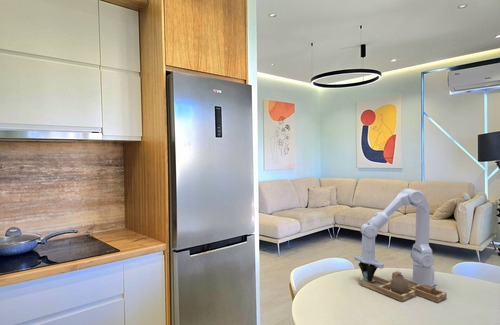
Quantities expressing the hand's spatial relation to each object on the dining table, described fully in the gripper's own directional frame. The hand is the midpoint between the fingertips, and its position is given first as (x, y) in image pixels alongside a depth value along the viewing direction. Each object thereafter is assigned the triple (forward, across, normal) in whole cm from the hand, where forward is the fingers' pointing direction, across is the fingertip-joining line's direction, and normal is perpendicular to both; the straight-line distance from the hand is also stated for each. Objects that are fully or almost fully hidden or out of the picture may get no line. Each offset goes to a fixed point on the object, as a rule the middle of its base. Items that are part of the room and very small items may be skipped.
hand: (367, 279), depth 144 cm
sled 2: (+2, +17, +10) cm, 20 cm away
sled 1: (+2, +9, 0) cm, 9 cm away
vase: (+2, +15, 0) cm, 16 cm away
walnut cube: (+2, +22, +10) cm, 24 cm away
